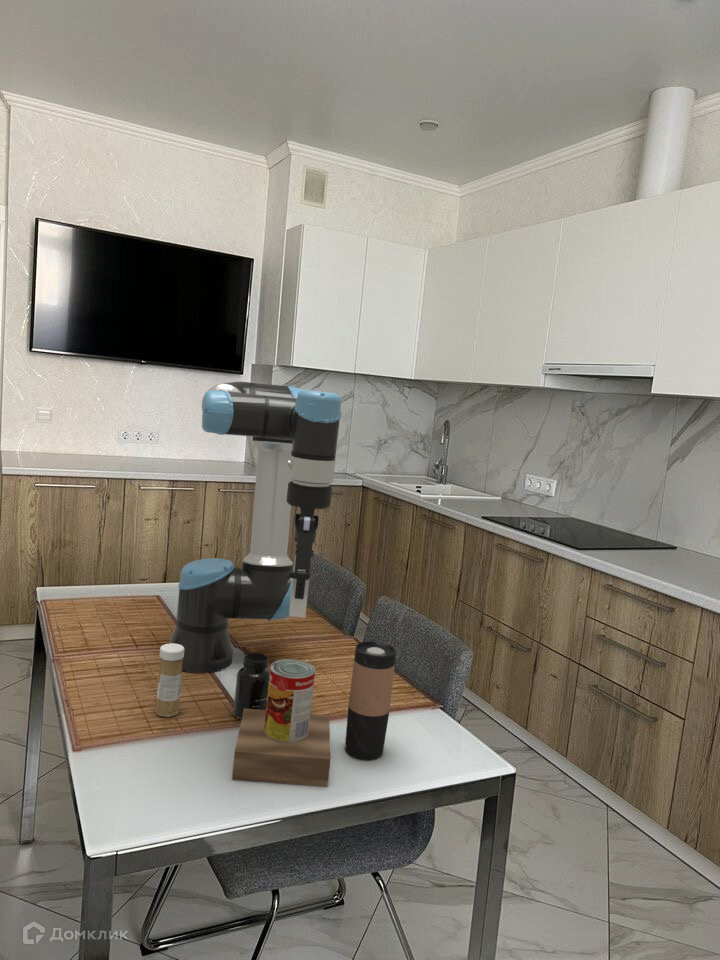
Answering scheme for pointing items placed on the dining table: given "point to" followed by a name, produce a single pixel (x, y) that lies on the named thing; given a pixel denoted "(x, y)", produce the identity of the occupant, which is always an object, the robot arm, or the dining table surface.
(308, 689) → the canned food
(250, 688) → the supplement bottle
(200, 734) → the dining table surface
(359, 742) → the travel mug
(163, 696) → the sprinkles bottle
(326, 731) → the walnut riser
